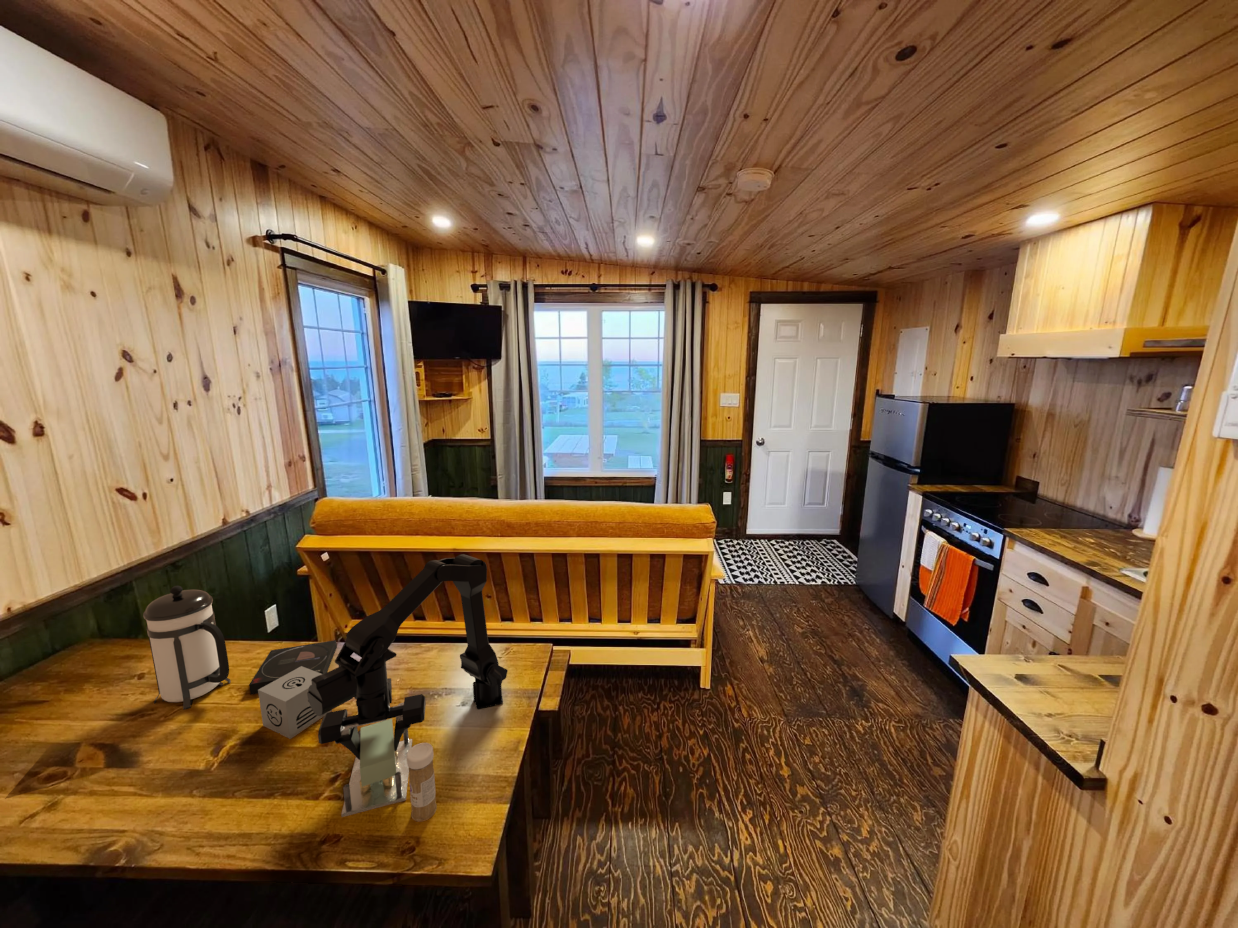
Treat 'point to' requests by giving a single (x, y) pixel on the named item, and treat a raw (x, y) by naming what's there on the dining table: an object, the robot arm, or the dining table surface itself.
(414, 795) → the sprinkles bottle
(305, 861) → the dining table surface
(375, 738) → the board
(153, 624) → the coffee press
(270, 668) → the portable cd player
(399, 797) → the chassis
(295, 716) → the icon cube
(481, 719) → the dining table surface
